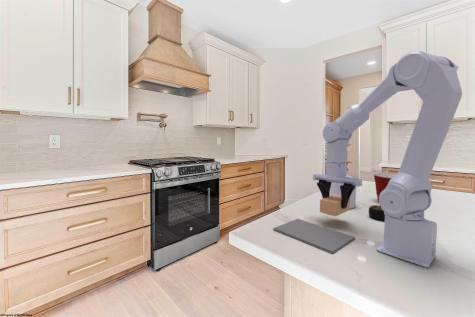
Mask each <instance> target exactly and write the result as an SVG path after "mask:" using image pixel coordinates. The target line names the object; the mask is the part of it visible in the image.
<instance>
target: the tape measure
mask: <svg viewBox="0 0 475 317" xmlns="http://www.w3.org/2000/svg"><path fill="white" fill-rule="evenodd" d="M368 214H369V217H370V218H373V219H376V220H381V221H382V220H383V221H385V214H384V211H383V210H382V208H381V206H380V204H379V205H377V204H376V205H375V204H374V205H373V204H372V205H370V206H369V207H368Z"/></svg>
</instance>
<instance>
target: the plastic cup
mask: <svg viewBox="0 0 475 317" xmlns="http://www.w3.org/2000/svg"><path fill="white" fill-rule="evenodd" d="M372 175H373V178H374V184H375V190H376V198H377V202H378V203H379V195H380V193H381V192H382V191H383V190H384V189H385V188H386V187H387V185H388V182H389V181H390V180H391V179H392V178H393V177H394V176H395V175H396V174H394V173H393V174H392V173H385V172H373V173H372Z"/></svg>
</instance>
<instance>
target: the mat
mask: <svg viewBox="0 0 475 317" xmlns="http://www.w3.org/2000/svg"><path fill="white" fill-rule="evenodd" d="M272 231H274V232H277V233H280V234H282V235H285V236H287V237H290V238H292V239H295V240H297V241H299V242H302V243H305V244H307V245H309V246H312V247H314V248H316V249H320V250H322V251H323V252H326V253H328V254H331V255H333V254H335V253H337V252H338V251H340V250H341V249H343V248H344V247H346V246H348V245H349V244H350V243H351V242H353V241H355V240H356V237H355V236H353V235H350V234H347V233H344V232H341V231H338V230H335V229H331V228H328V227H325V226H322V225H320V224H316V223H313V222H309V221H306V220H304V219H300V218H296V219H293V220H291V221H288V222H285V223H283V224H280V225H277V226H276V227H273V230H272Z"/></svg>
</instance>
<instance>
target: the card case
mask: <svg viewBox="0 0 475 317" xmlns="http://www.w3.org/2000/svg"><path fill="white" fill-rule="evenodd" d="M350 210H351V209H350V198H349V201H348V204H347V208H344V209H343V208H341V196H338V195H333V196H330V197H326V198H323V197H322V198H321V199H319V213H321V214H326V215H329V216H333V217H338V216H340V215H342V214H345V213H347V212H348V211H350Z"/></svg>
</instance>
